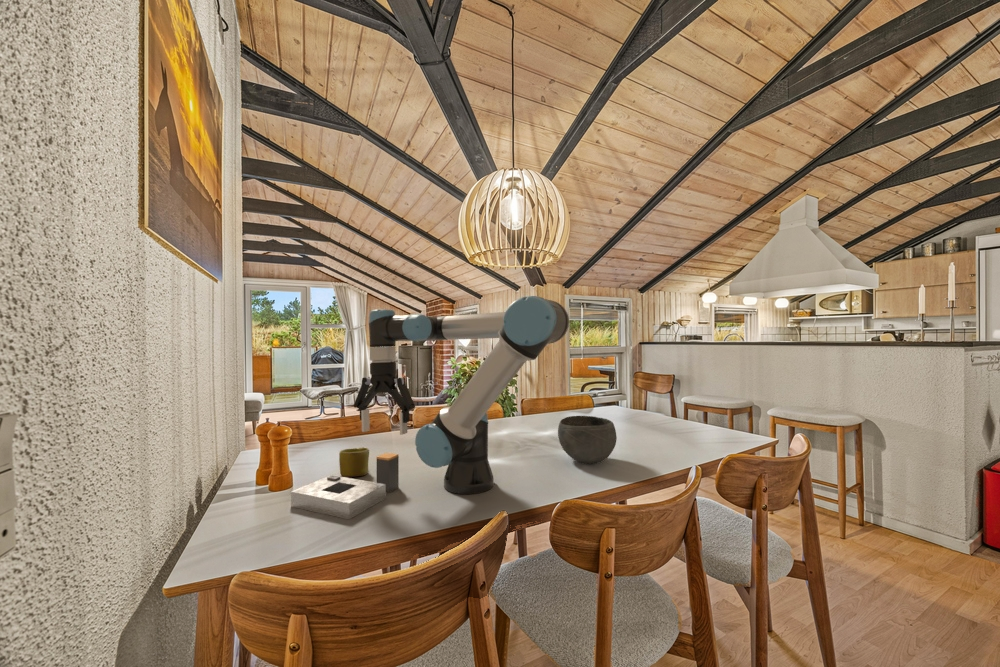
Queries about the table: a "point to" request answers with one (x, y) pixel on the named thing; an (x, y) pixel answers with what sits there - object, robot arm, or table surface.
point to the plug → (388, 471)
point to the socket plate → (338, 496)
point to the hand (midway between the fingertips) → (384, 432)
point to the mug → (354, 462)
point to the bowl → (587, 438)
